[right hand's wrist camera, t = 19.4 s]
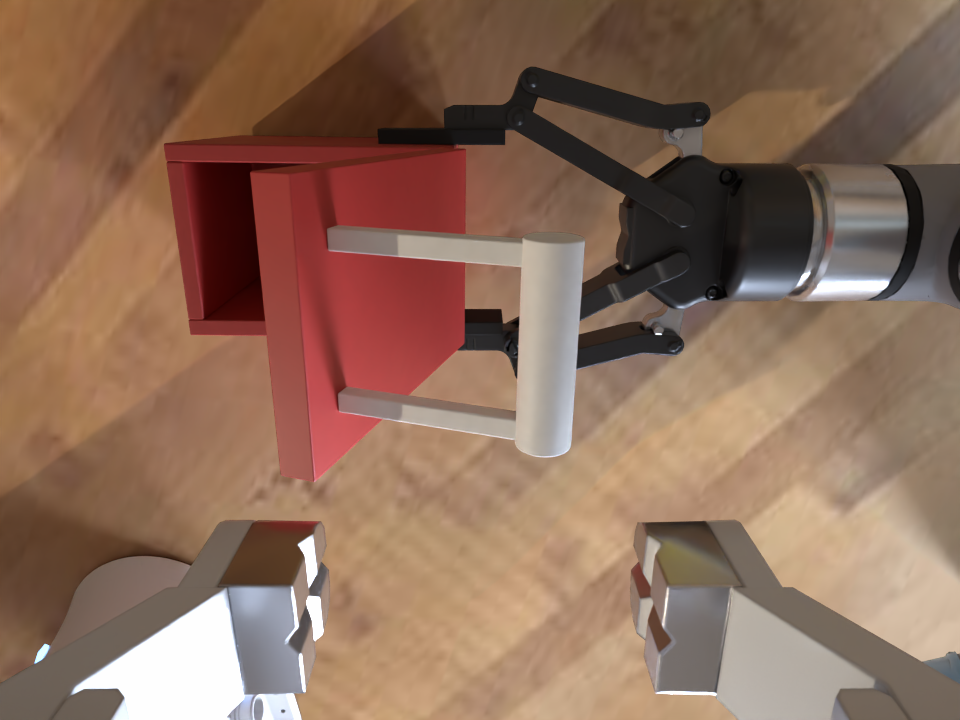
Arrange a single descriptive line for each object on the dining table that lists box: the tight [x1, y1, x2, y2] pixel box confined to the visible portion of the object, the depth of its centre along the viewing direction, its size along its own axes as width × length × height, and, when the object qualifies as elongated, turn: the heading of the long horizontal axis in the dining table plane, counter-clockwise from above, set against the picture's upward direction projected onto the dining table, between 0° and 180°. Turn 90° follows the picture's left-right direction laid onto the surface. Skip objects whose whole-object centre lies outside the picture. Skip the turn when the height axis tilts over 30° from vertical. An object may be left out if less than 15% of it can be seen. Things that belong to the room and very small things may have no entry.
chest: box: [164, 135, 458, 336], centre depth 39 cm, size 14×10×11 cm
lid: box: [250, 148, 585, 482], centre depth 25 cm, size 15×10×9 cm
